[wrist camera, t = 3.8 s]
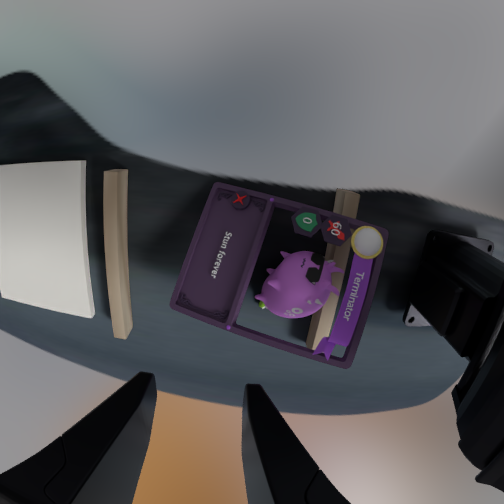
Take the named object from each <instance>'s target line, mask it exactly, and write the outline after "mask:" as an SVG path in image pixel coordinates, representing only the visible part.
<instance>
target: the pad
mask: <svg viewBox="0 0 504 504" xmlns="http://www.w3.org/2000/svg"><path fill="white" fill-rule="evenodd" d="M0 291H1V295H2V297H3V298H6V299H10V300H14V301H18V302H21V303H25V304H29V305H33V306H37V307H41V308H45V309H50V310H54V311H58V312H63V313H67V314H72V315H77V316H82V317H87V318H92V317H93V316H94V315H95V309H94V303H93V295H92V288H91V279H90V270H89V260H88V247H87V231H86V160H80V161H52V162H34V163H20V164H8V165H0Z"/></svg>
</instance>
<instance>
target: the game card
mask: <svg viewBox="0 0 504 504" xmlns="http://www.w3.org/2000/svg"><path fill="white" fill-rule="evenodd" d="M275 207H278V208H282V209H285V210H289V211H293V212H296V213H295V214H294V215H293V216H292V217H291V219H292V223H293V227H294V231H295V233H297V234H300V235H303V236H307V237H310V238H311V237H312V236H313V235H314V234H315V233H317V232H318V231H319V230H320V229H321V231H322V235H323V239H324V242H327V243H330V244H334V245H337V246H341V245H342V244H343V243H344V242H345V241H346V240H347V239H348V238H349V237H350V236H352V238H351V245H352V248H353V250H354V252H355V253H354V257H353V262H352V266H351V271H350V276H349V280H348V284H347V288H346V291H345V295H344V298H343V301H342V304H341V307H340V310H339V313H338V316H337V319H336V321H335V324H334V327H333V330H332V332H331V335H330V338H329V337H323V338H322V339H321V341H320V342H319V344H318V346H317V347H316V349H315V350H312V349H309V348H306V347H302V346H299V345H296V344H293V343H290V342H287V341H284V340H281V339H278V338H275V337H272V336H269V335H266V334H263V333H260V332H257V331H254V330H251V329H248V328H245V327H243V326H240V325H237V324H236V320H237V317H238V314H239V311H240V308H241V305H242V302H243V299H244V296H245V294H246V291H247V288H248V285H249V282H250V279H251V276H252V273H253V270H254V267H255V264H256V261H257V258H258V255H259V252H260V249H261V246H262V243H263V240H264V238H265V235H266V232H267V229H268V226H269V223H270V220H271V217H272V214H273V211H274V208H275ZM321 220H324V222H323V223H322V221H321ZM350 228H351V229H354V230H356V231H355V232H354V233H353V235H352V233H351V230H350ZM388 236H389V233H388V230H387V229H385V228H382V227H379V226H376V225H373V224H370V223H367V222H363V221H360V220H357V219H354V218H350V217H347V216H344V215H341V214H337V213H334V212H330V211H327V210H324V209H320V208H317V207H313V206H310V205H306V204H302V203H299V202H295V201H292V200H288V199H284V198H280V197H277V196H273V195H269V194H265V193H261V192H257V191H253V190H249V189H245V188H241V187H237V186H233V185H229V184H225V183H220V182H216V183H214V185H213V187H212V189H211V192H210V194H209V197H208V199H207V202H206V204H205V207H204V209H203V212H202V214H201V217H200V220H199V222H198V225H197V228H196V230H195V233H194V236H193V238H192V241H191V244H190V246H189V249H188V252H187V255H186V257H185V260H184V263H183V266H182V269H181V271H180V274H179V277H178V280H177V283H176V286H175V289H174V292H173V295H172V298H171V301H170V307H171V308H172V309H174V310H176V311H178V312H181V313H183V314H186V315H188V316H191V317H193V318H196V319H198V320H201V321H203V322H206V323H208V324H211V325H214V326H216V327H219V328H222V329H224V330H227V331H230V332H232V333H235V334H238V335H241V336H243V337H246V338H249V339H252V340H255V341H257V342H260V343H263V344H266V345H269V346H272V347H275V348H278V349H281V350H284V351H287V352H290V353H293V354H297V355H300V356H303V357H306V358H309V359H313V360H316V361H319V362H323V363H326V364H330V365H333V366H337V367H340V368H344V369H348V368H349V367H350V366H351V365H352V362H353V359H354V357H355V354H356V351H357V348H358V345H359V342H360V339H361V336H362V333H363V330H364V327H365V324H366V320H367V317H368V314H369V310H370V307H371V304H372V300H373V297H374V293H375V289H376V286H377V282H378V278H379V274H380V270H381V266H382V262H383V258H384V254H385V249H386V245H387V240H388ZM280 253H281V254H282V256H283V257H284V260H283V261H282V262H281V264H280V265H279V266H278V267H277V268H276V269H271V268H268V269H267V272H268V273H269V274H270V275H269V276H268V277H267V279H266V280H265V282H264V284H263V287H262V292H261V294H258V295H255V298H256V299H258V300H260V302H259V306H260V307H262V309H263V308H265V307H266V309H267V308H268V309H269V310H270V311H271V312H272V313H274V314H276V315H278V316H281V317H285V318H301V317H305V316H309V315H311V314H313V313H315V312H317V311H318V310H319V309H320V308H321V307H322V306H323V305H324V304H325V303H326V301H327V299H328V297H329V295H330V292H331V291H332V292H333V293H335V294H336V295H337V296H339V295H340V294H339V291H338V289H337V288H336V287H334V286H333V285H332V279H331V273H332V272H341V273H343V274H344V271H343V270H342V269H341V268H338V267H335V266H334V265H335V264H336V263H335V262H332V261H334V260H328V261H325V257H323V256H322V255H321V254H319V253H313V252H310V251H299V252H295V253H293V254H290V253H287V252H284V251H281V252H280ZM330 262H331V263H330ZM264 306H265V307H264ZM336 344H338V345H342V346H345V347H346V346H347V348H346V351H345V354H344V356H343V357H342V358H339V357H336V356H332V355H331V352H332V350H333V348H334V346H335V345H336ZM322 352H324V353H322Z"/></svg>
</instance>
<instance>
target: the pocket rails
mask: <svg viewBox="0 0 504 504" xmlns="http://www.w3.org/2000/svg"><path fill="white" fill-rule="evenodd" d="M127 190H128V169H113V170H108V171H104V196H103V207H104V243H105V260H106V273H107V284H108V294H109V302H110V310H111V318H112V325H113V332H114V337H115V338H121V339H126V338H127V337H128V335H129V333H130V331H131V329H132V327H133V322H132V312H131V301H130V287H129V271H128V247H127ZM359 198H360V194H357V193H355V192H352V191H350V190H344V189H338V188H337V190H336V197H335V203H334V209H333V212H334V213H337V214H341V215H344V216H347V217H350V218H354V219H356V215H357V210H358V204H359ZM350 230H351V233H352V235H353V231H354V229H351V228H350ZM351 238H352V236H350V237H349V238H348V239H347V240H346V241H345V242H344V243H343V244H342V245H341V246H337V245H334V244H330V243H327V249H326V254H325V261H328V260H334V261H332V262H335V263H336V264H335V265H334V266H335V267H338V268H341V269H342V270H343V271H344V273H345V269H346V265H347V260H348V255H349V251H350V246H351ZM330 263H331V262H330ZM343 278H344V274H343V273H341V272H332V273H331V279H332V285H333V286H334V287H336V288H337V289H338V291H339V294H340V290H341V286H342V282H343ZM338 298H339V296H337V295H336V294H335V293H333V292H332V291H331V292H330V295H329V297H328V299H327V301H326V303H325V304H324V305H323V306H322V307H321V308H320V309H319V310H318V311H317V312H315V313H313V315H312V319H311V324H310V328H309V332H308V336H307V340H306V345H307V348H309V349H312V350H315V349H316V347H317V346H318V344H319V342H320V341H321V339H322V338H323V337H328V336H329V332H330V328H331V325H332V321H333V317H334V314H335V310H336V306H337V302H338ZM322 353H324V352H322Z"/></svg>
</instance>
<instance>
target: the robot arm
mask: <svg viewBox="0 0 504 504" xmlns="http://www.w3.org/2000/svg"><path fill="white" fill-rule="evenodd" d="M435 236H436V239H435V240H434V241H433V238H434V237H435ZM493 249H494V244H493V242H491V241H489V240H486V239H482V238H477V237H472V236H467V235H462V234H457V233H451V232H446V231H441V230H435V229H434V230H431V231H430V232H429V233H428V235H427V238H426V242H425V246H424V250H423V254H422V258H421V261H420V265H419V268H418V271H417V275H416V278H415V281H414V285H413V288H412V291H411V294H410V297H409V301H408V304H407V307H406V310H405V313H404V315H403V322H404V323H405V324H406V325H407V326H432V327H433V328H434V329H435V330H436V331H437V333H438V334H439V335H440V336H443V337H444V338H445V339H446V340H447V341H448V343H449V344H450V345H451V346H452V347H453V348H454V349H455V351H456V352H457V353H458V354H459V355H460V356H461V357H465V358H466V359H467V360H468V361H469V364H468V366H467V368H466V370H465V372H464V374H463V376H462V377H461V379H460V381H459V383H458V384H457V385H456V386H455V387H454V389H453V391H452V397H453V401H454V405H455V409H456V414H457V423H456V424H457V428H458V432H459V435H460V439H461V440H460V441H459V443H458V445H459V448H460V449H461V451H462V452H463V454H464V456H465V457H466V458H467V459H468V460H469V461H470V462H471V463H472V464H473V465H474V466H475V467H477V468H478V469H480V470H482V471H481V472H480V473H479V474H478V475H477V476H476V477H475V480H476V482H478V483H483V484H487V485H491V486H493V487H495V488H497V489H499V490H501V491H503V492H504V263H503V262H501V261H500V260H498V259H496V258H495V257H493V256H492V253H493ZM410 317H411V319H410V320H409V318H410ZM156 400H157V390H156V382H155V376H154V374H153V373H148V372H139V373H138V374H136V375H135V376H134V377H133V378H131V379H130V380H129V381H128V382H127V383H125V384H124V385H123V386H122V387H121V388H119V389H118V390H117V391H116V392H114V393H113V394H112V395H111V396H110V397H108V398H107V399H106V400H104V401H103V402H102V403H101V404H100V405H98V406H97V407H96V408H95V409H93V410H92V411H91V412H90V413H88V414H87V415H86V416H85V417H83V418H82V419H81V420H80V421H78V422H77V423H76V424H75V425H73V426H72V427H71V428H70V429H69V430H67V431H66V432H65V433H64V434H62V437H61V436H60V437H58V438H57V439H56V440H54V441H53V442H52V443H50V444H49V445H48V446H46V447H45V448H43V449H42V450H41V451H39V452H38V453H36V454H35V455H33V456H31V457H30V458H28V459H27V460H25V461H23V462H22V463H20V464H18V465H16V466H14V467H13V468H11V469H9V470H7V471H5V472H4V473H2V474H0V504H132V502H133V498H134V494H135V490H136V487H137V483H138V480H139V476H140V473H141V469H142V466H143V462H144V459H145V456H146V452H147V449H148V445H149V441H150V435H151V429H152V423H153V417H154V411H155V406H156ZM242 460H243V469H244V476H245V484H246V491H247V498H248V504H351V503H350V502H349V501H348V500H346V498H345V497H344V496H343V495H342V494H341V493H340V492H338V490H337V489H336V488H335V486H334V485H333V484H332V483H331V482H330V481H329V480H328V478H327V477H326V475H325V474H324V473H323V472H322V470H319V467H318V465H317V464H316V463H315V461H314V460H313V458H312V457H311V456H310V454H309V453H308V452H307V450H306V449H305V448H304V446H303V445H302V444H301V442H300V441H299V439H298V438H297V437H296V435H295V434H294V433H293V431H292V430H291V429H290V427H289V426H288V424H287V423H286V422H285V420H284V418H283V417H282V415H281V414H280V413H279V411H278V410H277V408H276V407H275V405H274V404H273V402H272V401H271V399H270V398H269V396H268V395H267V393H266V392H265V391H264V389H263V388H262V386H261V385H260V384H246V386H245V391H244V399H243V409H242Z"/></svg>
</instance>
